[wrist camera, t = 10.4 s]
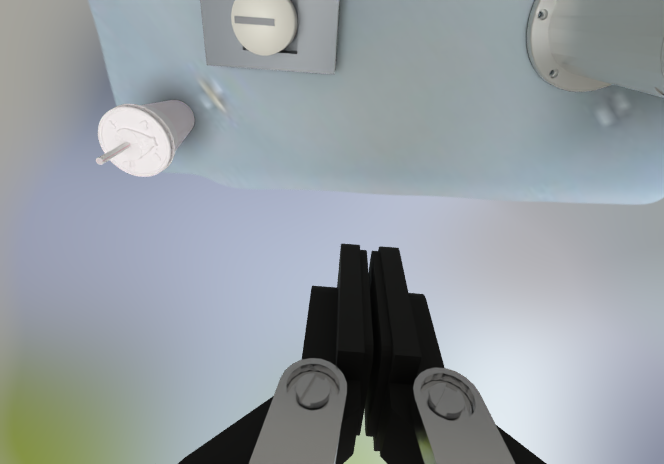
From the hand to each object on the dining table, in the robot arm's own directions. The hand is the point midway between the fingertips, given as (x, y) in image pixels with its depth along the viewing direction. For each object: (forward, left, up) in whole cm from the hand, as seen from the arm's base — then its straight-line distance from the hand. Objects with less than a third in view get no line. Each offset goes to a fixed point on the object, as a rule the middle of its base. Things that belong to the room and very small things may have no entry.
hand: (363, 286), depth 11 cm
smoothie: (+19, +4, -32) cm, 38 cm away
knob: (+8, -6, -31) cm, 32 cm away
